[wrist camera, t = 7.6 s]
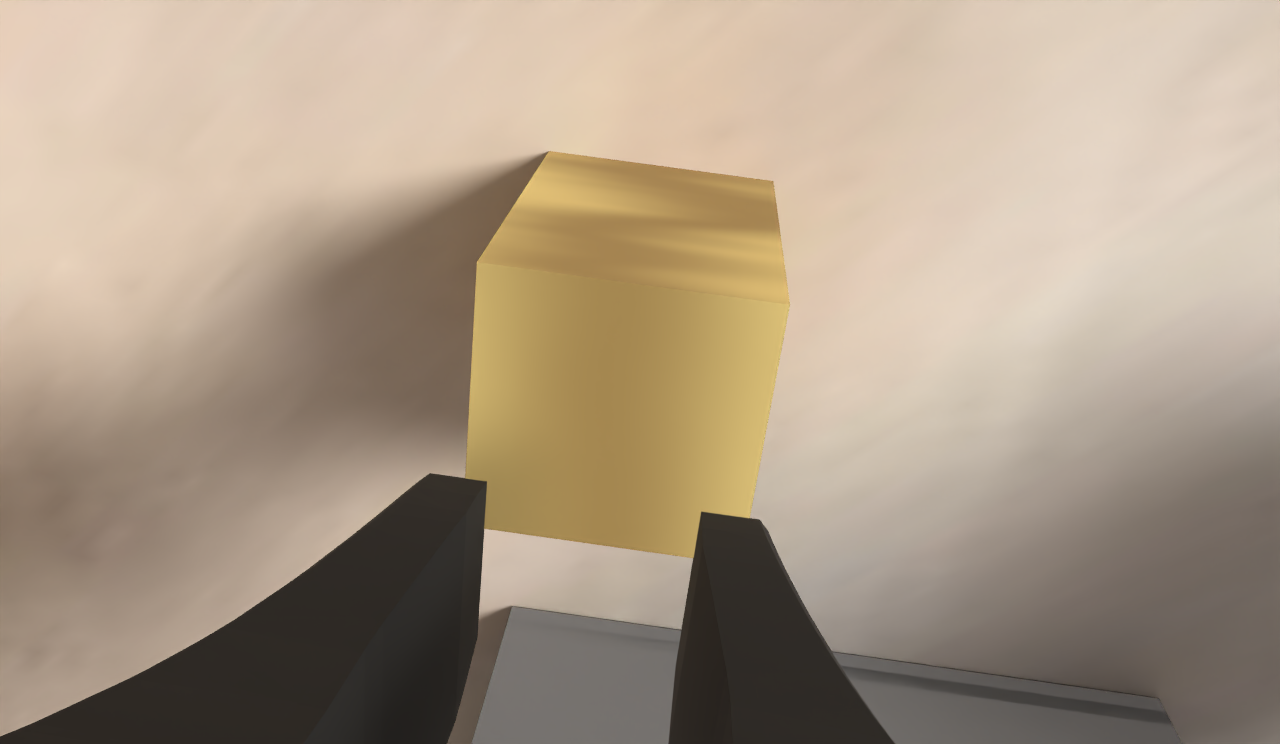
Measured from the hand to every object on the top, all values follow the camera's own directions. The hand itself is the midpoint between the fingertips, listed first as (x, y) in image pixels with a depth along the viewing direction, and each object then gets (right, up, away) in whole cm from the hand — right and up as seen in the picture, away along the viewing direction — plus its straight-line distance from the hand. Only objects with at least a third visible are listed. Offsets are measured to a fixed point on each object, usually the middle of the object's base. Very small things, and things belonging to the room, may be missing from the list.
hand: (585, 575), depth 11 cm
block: (+1, +4, +9) cm, 10 cm away
